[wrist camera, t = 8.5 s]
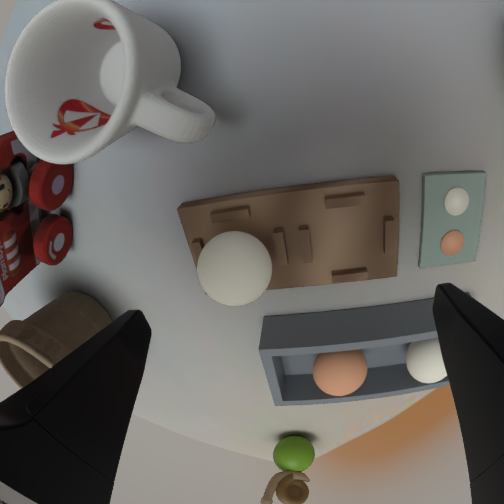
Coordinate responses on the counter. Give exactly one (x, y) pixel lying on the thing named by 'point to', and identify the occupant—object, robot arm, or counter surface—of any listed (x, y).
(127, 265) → the counter surface
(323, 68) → the counter surface
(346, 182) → the rack
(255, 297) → the ball ivory rack
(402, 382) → the trough
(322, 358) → the ball terracotta
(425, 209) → the card
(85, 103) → the cup
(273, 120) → the counter surface
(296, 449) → the snail figurine
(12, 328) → the flower pot
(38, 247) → the toy fire truck
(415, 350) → the ball ivory trough
